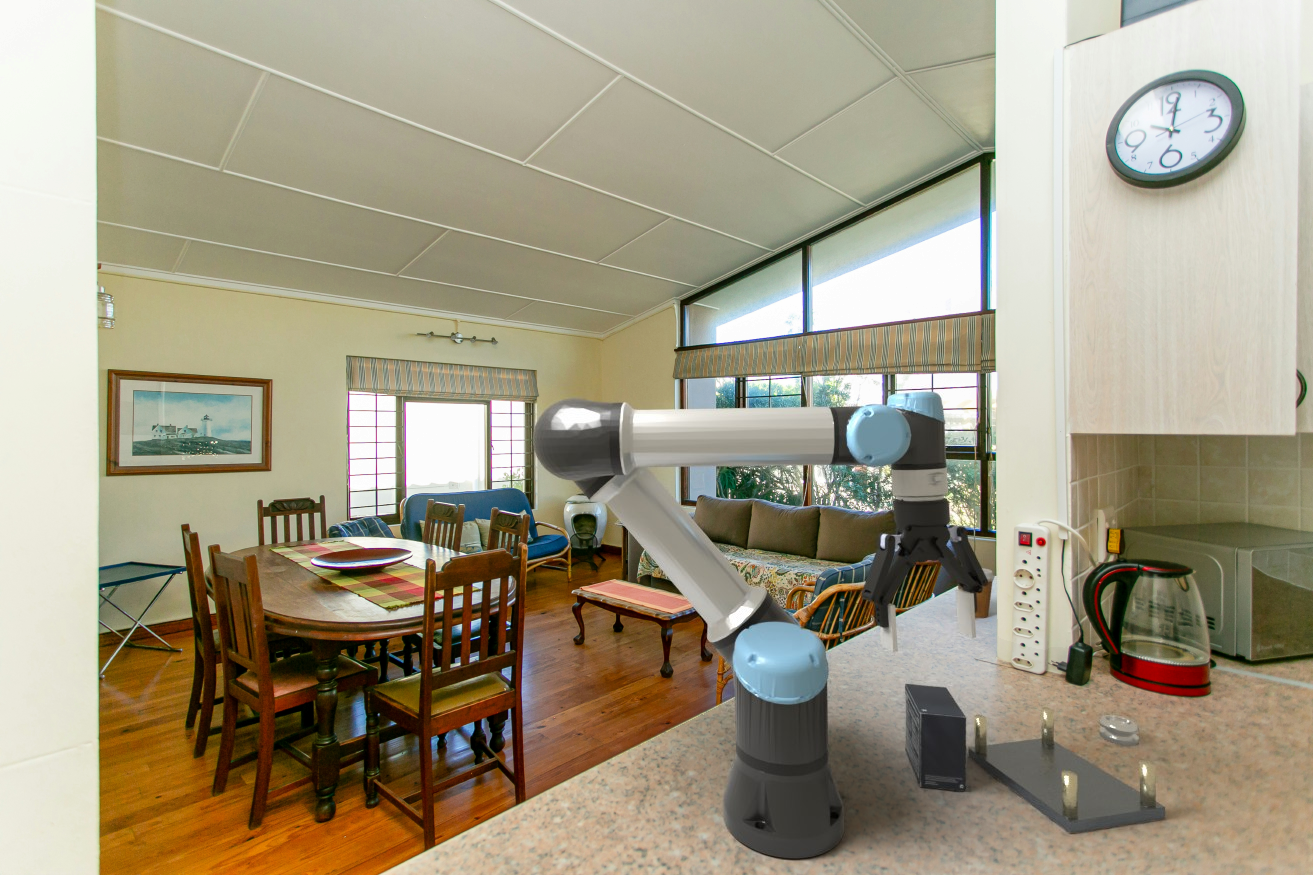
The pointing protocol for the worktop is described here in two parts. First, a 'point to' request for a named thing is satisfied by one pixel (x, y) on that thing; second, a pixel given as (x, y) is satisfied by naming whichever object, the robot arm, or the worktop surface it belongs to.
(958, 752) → the small box
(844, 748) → the worktop surface
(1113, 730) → the metal grooved wheel
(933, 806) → the worktop surface
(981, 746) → the chassis
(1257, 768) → the worktop surface
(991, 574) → the disposable coffee cup
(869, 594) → the robot arm
